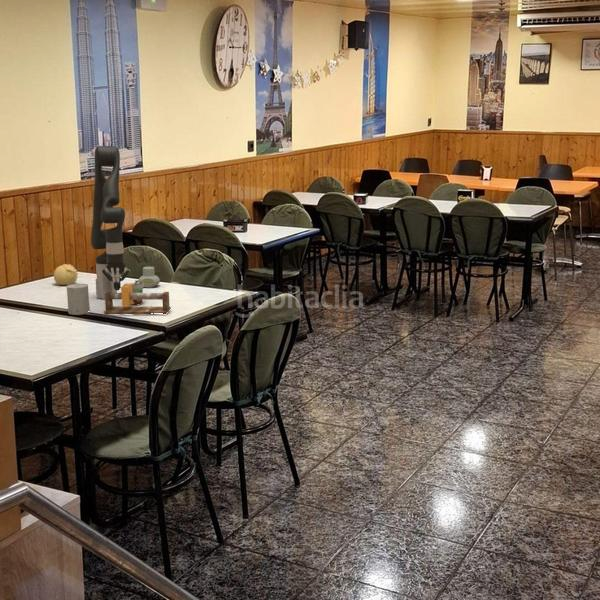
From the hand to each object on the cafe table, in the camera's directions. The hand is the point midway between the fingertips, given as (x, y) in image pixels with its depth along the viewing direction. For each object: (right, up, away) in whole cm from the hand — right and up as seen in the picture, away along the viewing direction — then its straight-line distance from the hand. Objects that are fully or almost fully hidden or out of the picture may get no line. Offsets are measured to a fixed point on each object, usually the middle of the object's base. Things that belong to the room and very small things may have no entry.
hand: (117, 290), depth 387 cm
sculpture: (-40, +3, +63) cm, 75 cm away
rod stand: (+9, -10, +2) cm, 14 cm away
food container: (+6, -6, +19) cm, 21 cm away
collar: (+4, -7, +1) cm, 8 cm away
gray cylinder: (-18, -10, +3) cm, 21 cm away
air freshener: (+5, +2, +56) cm, 56 cm away
